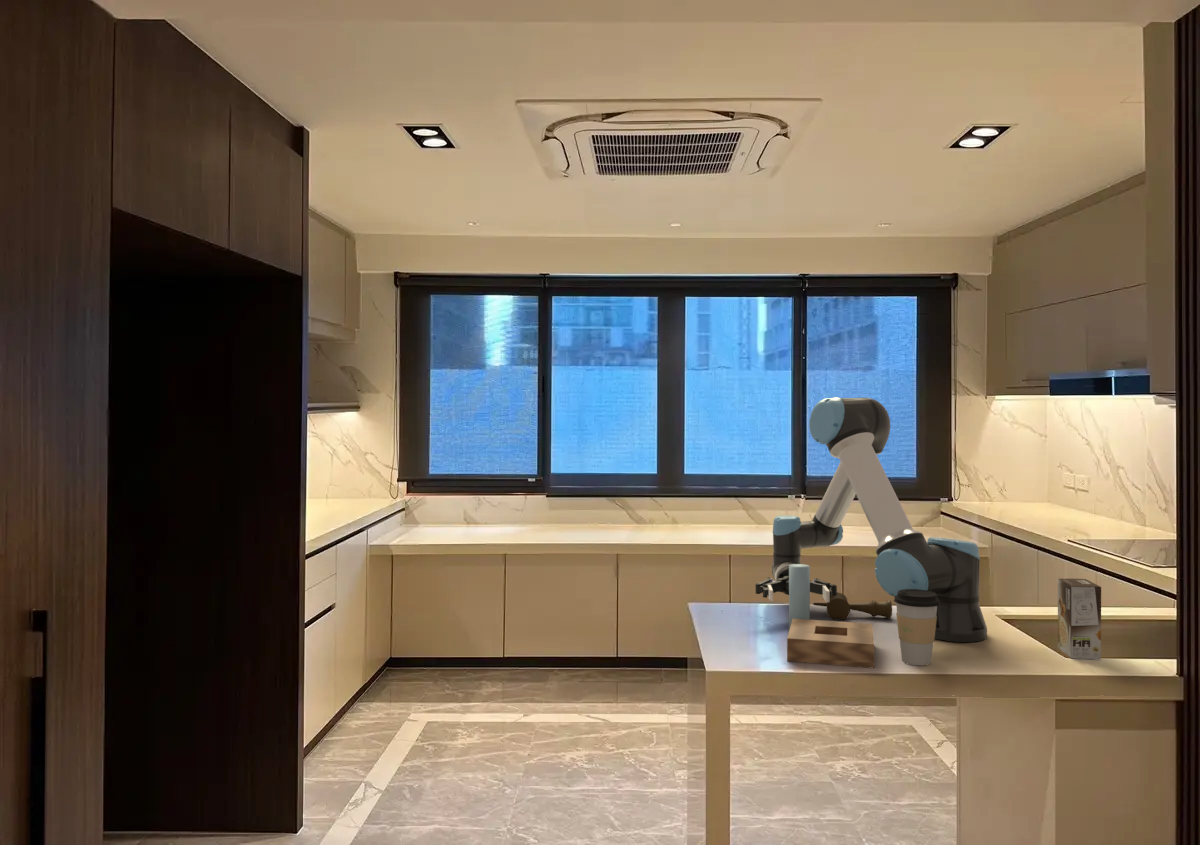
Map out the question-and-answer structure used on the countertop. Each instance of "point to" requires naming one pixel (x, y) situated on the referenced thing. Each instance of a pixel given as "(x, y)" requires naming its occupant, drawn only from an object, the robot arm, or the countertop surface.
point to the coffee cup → (916, 624)
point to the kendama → (855, 607)
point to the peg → (799, 592)
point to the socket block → (831, 643)
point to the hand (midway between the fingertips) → (799, 596)
